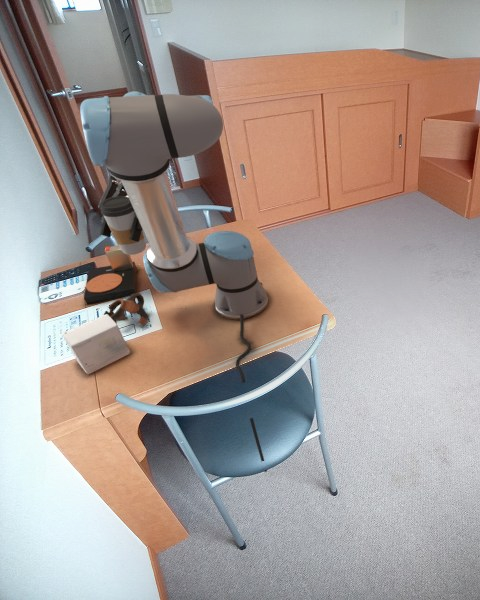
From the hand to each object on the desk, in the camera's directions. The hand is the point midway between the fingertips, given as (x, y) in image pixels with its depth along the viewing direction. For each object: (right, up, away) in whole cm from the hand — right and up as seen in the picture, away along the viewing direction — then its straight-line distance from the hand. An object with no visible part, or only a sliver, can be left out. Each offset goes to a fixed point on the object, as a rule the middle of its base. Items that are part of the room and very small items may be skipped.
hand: (119, 238), depth 118 cm
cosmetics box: (+1, -33, -8) cm, 33 cm away
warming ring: (-13, -12, +13) cm, 22 cm away
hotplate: (-12, -12, +17) cm, 24 cm away
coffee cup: (0, -3, +6) cm, 7 cm away
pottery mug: (+1, -23, +4) cm, 24 cm away
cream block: (-11, -7, +19) cm, 23 cm away
